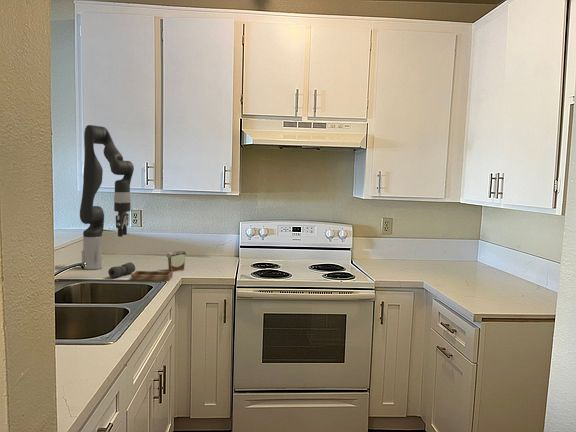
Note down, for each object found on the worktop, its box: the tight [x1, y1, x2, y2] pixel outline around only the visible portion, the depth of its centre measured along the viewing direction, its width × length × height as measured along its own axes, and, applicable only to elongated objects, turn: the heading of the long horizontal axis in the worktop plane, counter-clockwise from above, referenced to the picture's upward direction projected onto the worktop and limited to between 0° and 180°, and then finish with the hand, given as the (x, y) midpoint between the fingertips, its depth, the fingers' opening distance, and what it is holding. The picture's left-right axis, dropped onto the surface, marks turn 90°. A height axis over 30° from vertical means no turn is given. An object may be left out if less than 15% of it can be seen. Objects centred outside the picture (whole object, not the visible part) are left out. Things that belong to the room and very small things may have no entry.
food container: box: [166, 250, 187, 273], centre depth 255 cm, size 12×6×10 cm, turn 149°
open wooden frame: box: [130, 270, 174, 282], centre depth 234 cm, size 18×10×2 cm, turn 94°
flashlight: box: [108, 261, 137, 278], centre depth 237 cm, size 15×5×5 cm, turn 162°
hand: (122, 235), depth 231 cm, fingers open, 6 cm apart
